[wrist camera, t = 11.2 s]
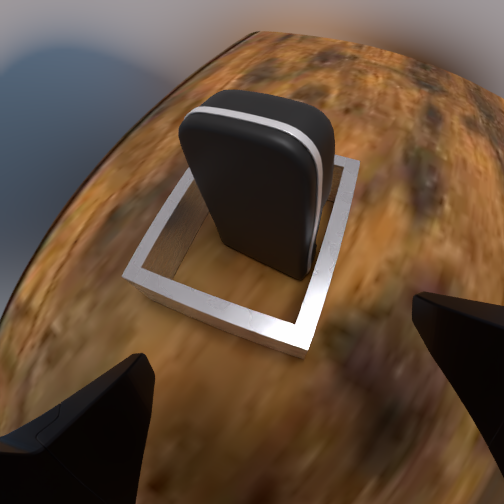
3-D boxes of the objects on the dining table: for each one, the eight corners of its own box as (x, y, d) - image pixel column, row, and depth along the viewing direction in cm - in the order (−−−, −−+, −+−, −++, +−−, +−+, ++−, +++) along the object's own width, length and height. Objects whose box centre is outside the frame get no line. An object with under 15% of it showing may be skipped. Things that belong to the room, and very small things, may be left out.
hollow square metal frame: (352, 196, 21) (360, 161, 18) (303, 359, 16) (307, 349, 13) (223, 167, 25) (213, 133, 21) (149, 298, 20) (121, 276, 16)
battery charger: (328, 241, 20) (349, 100, 10) (305, 285, 19) (315, 152, 9) (246, 206, 22) (213, 75, 12) (218, 243, 21) (163, 114, 11)
